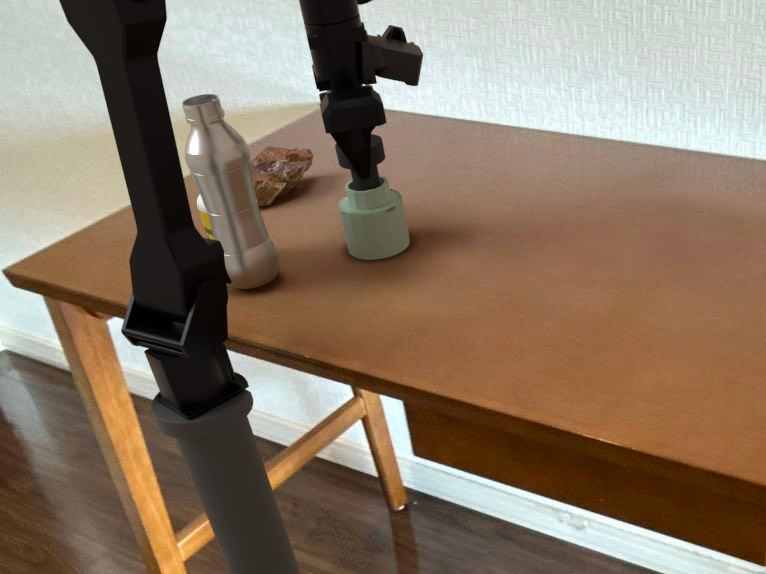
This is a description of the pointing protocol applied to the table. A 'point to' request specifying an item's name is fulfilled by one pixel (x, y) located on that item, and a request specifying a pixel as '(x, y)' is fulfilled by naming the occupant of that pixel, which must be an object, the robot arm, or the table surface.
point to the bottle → (374, 221)
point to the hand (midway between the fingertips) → (363, 169)
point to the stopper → (376, 159)
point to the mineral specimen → (278, 171)
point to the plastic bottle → (228, 192)
